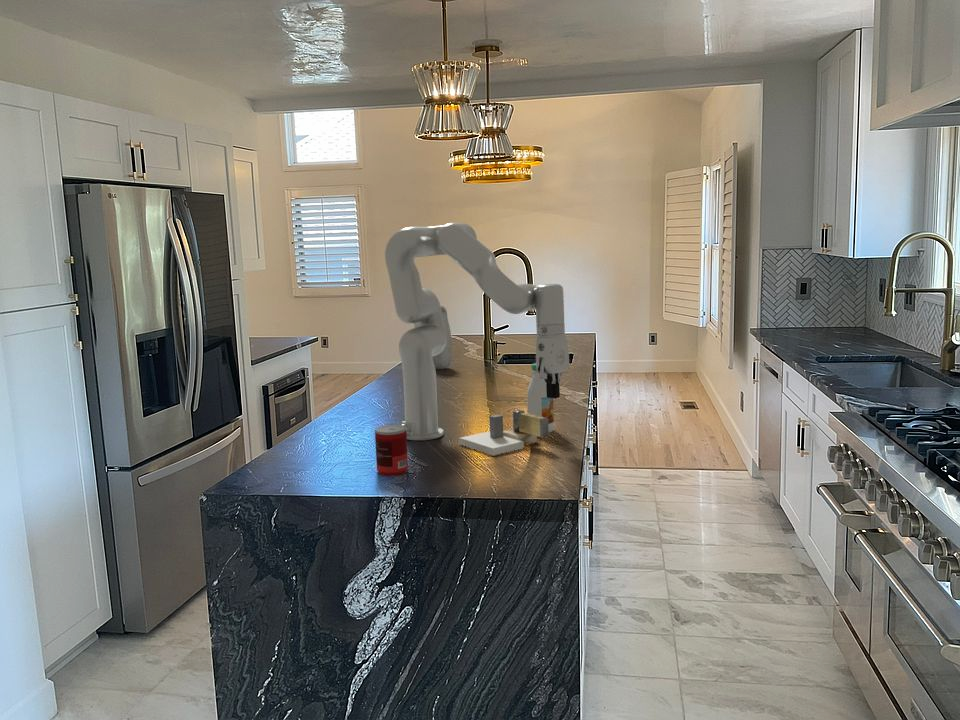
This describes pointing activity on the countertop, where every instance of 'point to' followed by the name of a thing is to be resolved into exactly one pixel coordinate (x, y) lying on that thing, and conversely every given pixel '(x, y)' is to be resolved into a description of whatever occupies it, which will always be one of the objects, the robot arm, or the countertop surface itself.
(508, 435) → the jamb block
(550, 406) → the milk bottle
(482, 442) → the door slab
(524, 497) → the countertop surface
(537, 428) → the bar
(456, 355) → the countertop surface
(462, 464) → the countertop surface
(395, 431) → the canned food
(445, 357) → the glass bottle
